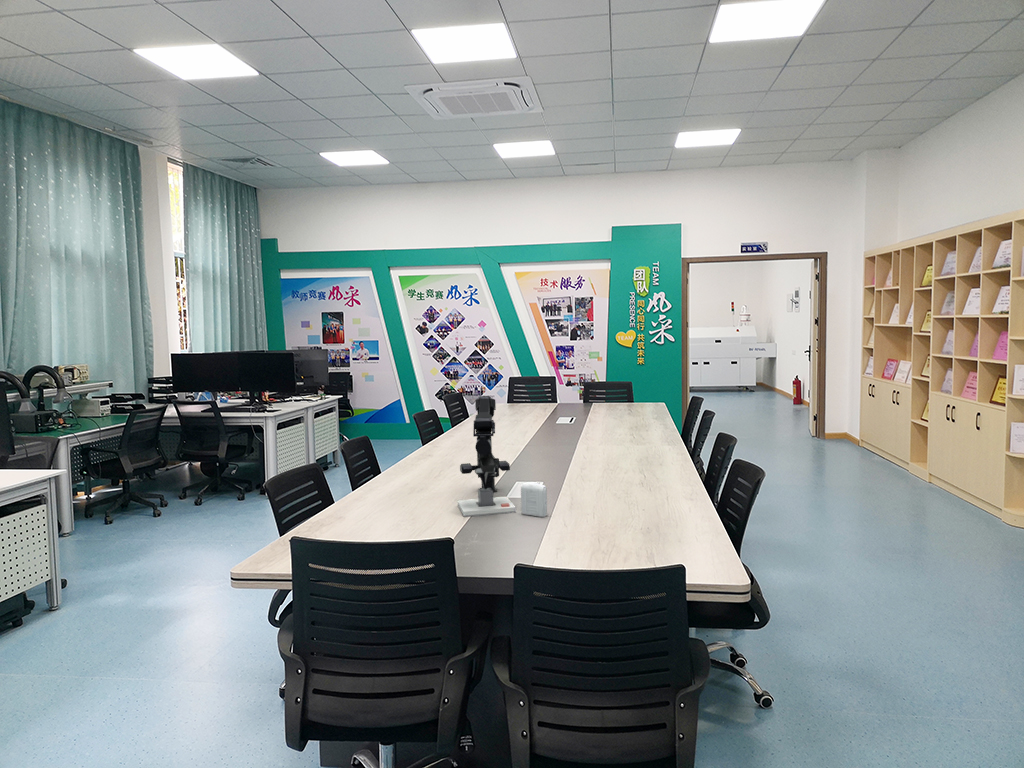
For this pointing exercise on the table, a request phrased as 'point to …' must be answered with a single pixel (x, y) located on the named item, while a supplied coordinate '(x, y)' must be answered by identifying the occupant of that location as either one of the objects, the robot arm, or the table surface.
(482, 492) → the plug
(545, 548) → the table surface
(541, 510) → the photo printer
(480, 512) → the socket plate
